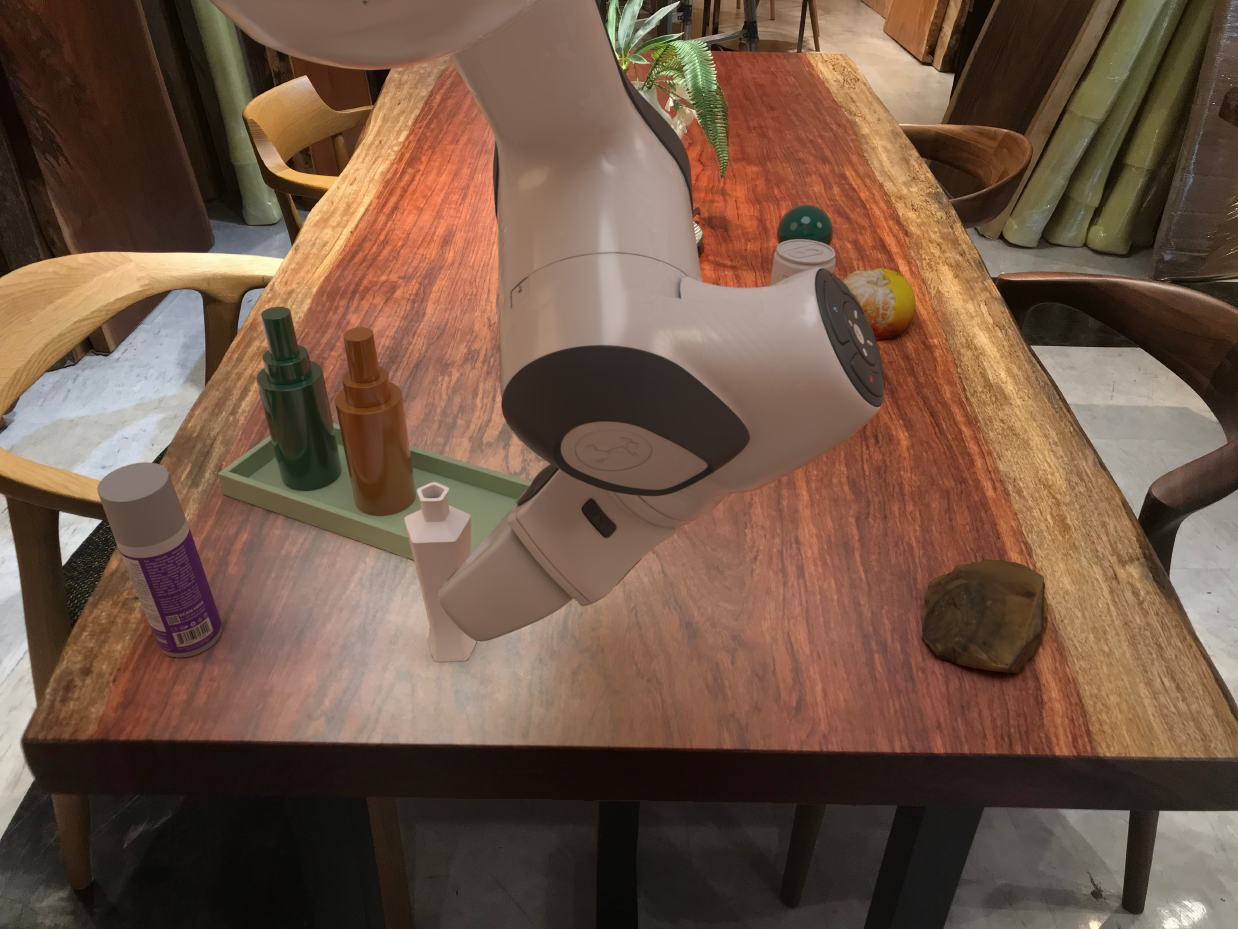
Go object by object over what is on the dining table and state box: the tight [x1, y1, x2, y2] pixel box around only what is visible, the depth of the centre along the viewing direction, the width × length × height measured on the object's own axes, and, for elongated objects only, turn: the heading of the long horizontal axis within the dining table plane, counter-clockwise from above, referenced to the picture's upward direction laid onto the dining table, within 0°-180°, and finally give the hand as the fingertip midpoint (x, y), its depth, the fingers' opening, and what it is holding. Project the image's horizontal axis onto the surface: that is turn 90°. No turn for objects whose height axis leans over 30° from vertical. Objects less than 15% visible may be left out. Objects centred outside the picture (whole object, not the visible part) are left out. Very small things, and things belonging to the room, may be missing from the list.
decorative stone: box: [921, 559, 1049, 674], centre depth 71 cm, size 10×9×4 cm
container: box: [96, 462, 223, 659], centre depth 65 cm, size 5×5×15 cm
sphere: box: [776, 203, 834, 247], centre depth 129 cm, size 8×8×8 cm
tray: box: [217, 422, 533, 561], centre depth 83 cm, size 28×11×2 cm, turn 66°
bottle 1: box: [256, 306, 342, 491], centre depth 81 cm, size 6×6×17 cm
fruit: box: [842, 267, 917, 341], centre depth 113 cm, size 11×10×8 cm
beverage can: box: [769, 239, 837, 286], centre depth 100 cm, size 7×7×15 cm
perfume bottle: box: [404, 482, 478, 663], centre depth 65 cm, size 5×4×15 cm
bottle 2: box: [334, 326, 416, 516], centre depth 78 cm, size 6×6×17 cm
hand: (492, 546), depth 60 cm, fingers open, 8 cm apart
